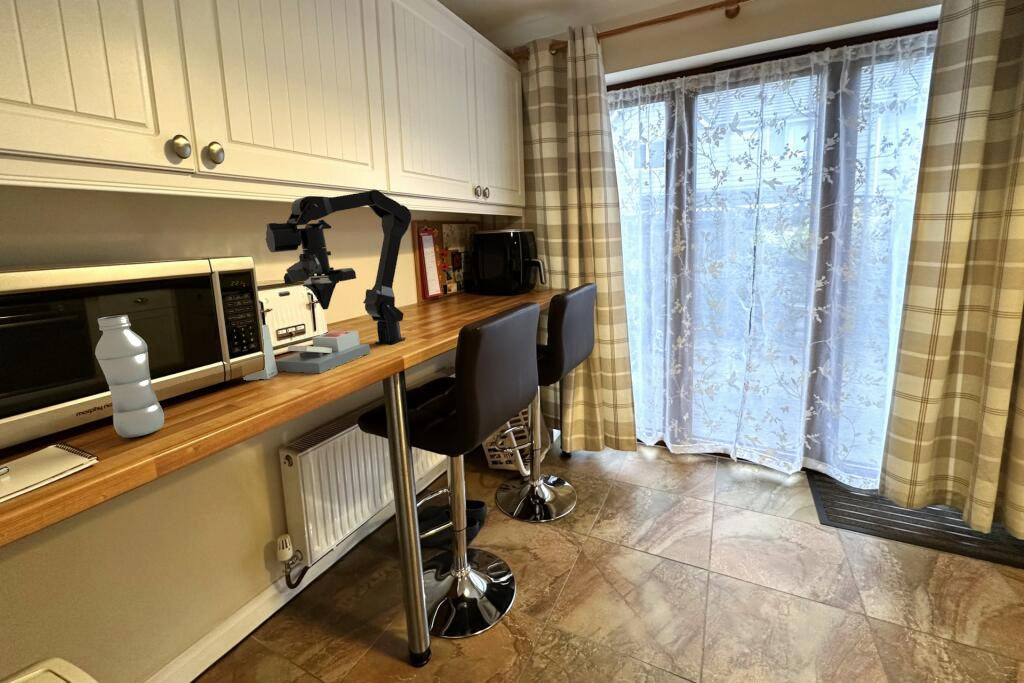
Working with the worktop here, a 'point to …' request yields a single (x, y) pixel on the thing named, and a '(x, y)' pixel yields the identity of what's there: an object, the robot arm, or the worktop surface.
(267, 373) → the grey tapered stand
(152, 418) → the plastic bottle
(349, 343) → the grey switch base
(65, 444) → the worktop surface
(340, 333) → the breaker button
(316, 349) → the rocker switch
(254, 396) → the worktop surface
